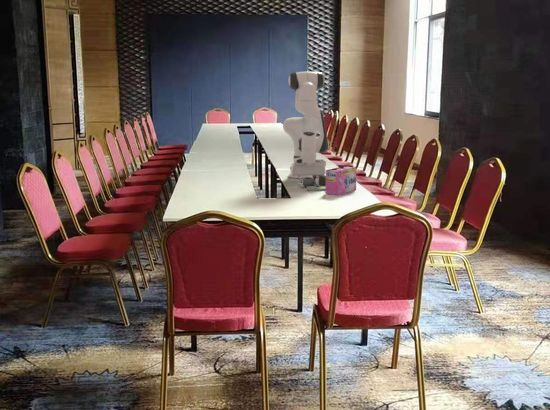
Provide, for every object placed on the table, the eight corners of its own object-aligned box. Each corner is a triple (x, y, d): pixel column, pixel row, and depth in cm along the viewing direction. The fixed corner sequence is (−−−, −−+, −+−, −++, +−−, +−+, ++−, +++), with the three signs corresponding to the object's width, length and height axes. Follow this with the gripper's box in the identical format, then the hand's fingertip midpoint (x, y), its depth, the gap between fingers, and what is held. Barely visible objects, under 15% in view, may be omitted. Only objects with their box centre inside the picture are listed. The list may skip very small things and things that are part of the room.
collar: (302, 185, 362) (302, 177, 361) (312, 185, 362) (312, 177, 361) (303, 187, 356) (304, 178, 355) (313, 187, 356) (314, 178, 355)
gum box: (345, 188, 354) (346, 165, 351) (357, 189, 349) (358, 166, 347) (324, 194, 335) (325, 170, 332) (337, 195, 330) (337, 171, 327)
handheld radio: (325, 188, 355) (307, 181, 377) (330, 187, 356) (312, 181, 379) (325, 176, 354) (307, 171, 376) (330, 176, 355) (312, 171, 377)
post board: (306, 188, 352) (306, 177, 351) (333, 188, 353) (333, 177, 352) (308, 190, 344) (308, 180, 343) (335, 190, 346) (336, 179, 344)
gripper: (325, 158, 360) (324, 181, 362) (291, 159, 358) (291, 182, 361) (326, 160, 353) (326, 183, 356) (292, 160, 352) (292, 183, 355)
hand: (308, 182), depth 358 cm, fingers open, 8 cm apart
